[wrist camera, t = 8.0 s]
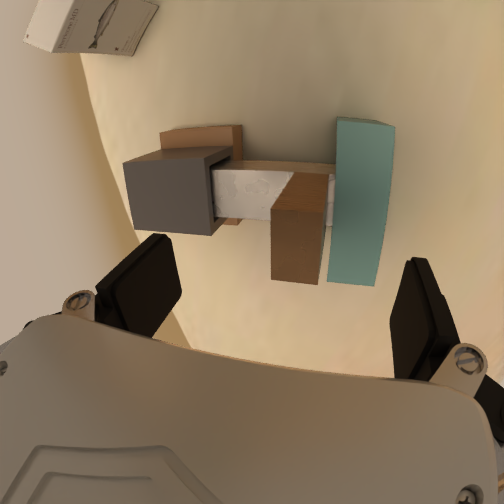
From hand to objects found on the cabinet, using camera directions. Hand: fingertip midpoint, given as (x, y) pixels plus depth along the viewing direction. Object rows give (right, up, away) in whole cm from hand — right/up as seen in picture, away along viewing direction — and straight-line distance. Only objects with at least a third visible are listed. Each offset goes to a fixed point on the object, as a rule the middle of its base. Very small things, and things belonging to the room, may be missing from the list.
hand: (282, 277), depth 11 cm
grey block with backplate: (-6, +10, +20) cm, 23 cm away
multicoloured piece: (+1, +7, +14) cm, 16 cm away
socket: (+9, +8, +16) cm, 20 cm away
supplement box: (-16, +28, +13) cm, 35 cm away
